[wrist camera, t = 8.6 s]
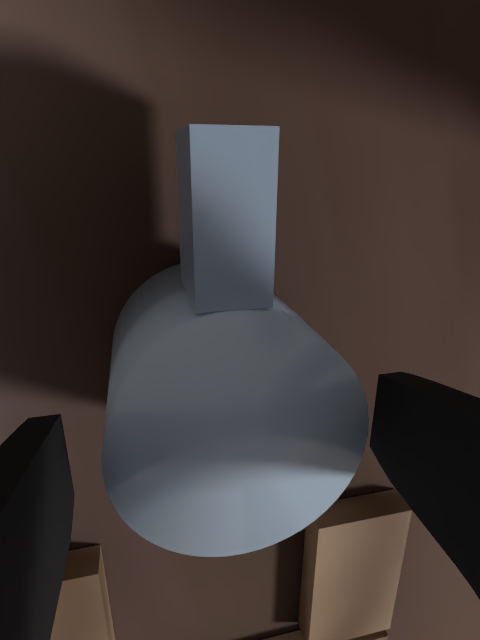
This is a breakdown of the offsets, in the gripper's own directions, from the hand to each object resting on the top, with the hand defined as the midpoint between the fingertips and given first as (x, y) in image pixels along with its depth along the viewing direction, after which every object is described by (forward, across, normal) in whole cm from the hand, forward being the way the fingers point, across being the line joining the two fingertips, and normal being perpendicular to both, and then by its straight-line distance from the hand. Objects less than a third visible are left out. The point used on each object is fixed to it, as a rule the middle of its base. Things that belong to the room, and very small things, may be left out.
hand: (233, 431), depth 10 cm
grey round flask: (+5, 0, -2) cm, 5 cm away
